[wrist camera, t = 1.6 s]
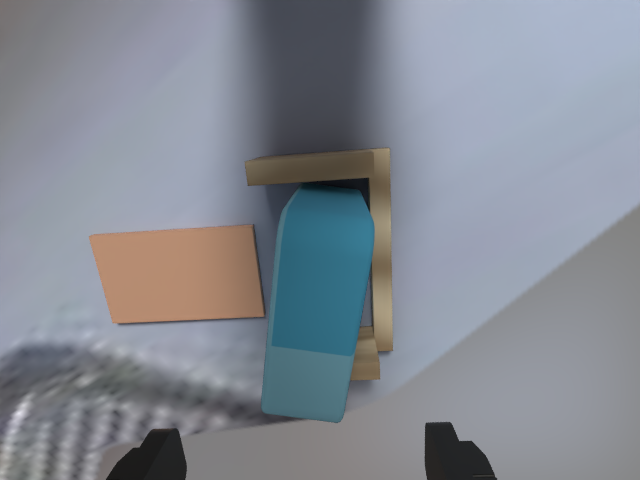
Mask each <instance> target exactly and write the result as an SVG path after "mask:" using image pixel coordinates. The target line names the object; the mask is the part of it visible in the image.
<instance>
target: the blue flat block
mask: <svg viewBox="0 0 640 480" xmlns="http://www.w3.org/2000/svg"><path fill="white" fill-rule="evenodd" d="M374 238H375V226H374V221H373V218H372V216H371V214H370V212H369V210H368V207H367V205H366V203H365V201H364V199H363V196H362V194H361V192H360V191H359V190H356V189H348V188H341V187H333V186H326V185H318V184H311V183H301V184H300V185H299V187H298V188H297V190H296V191H295V193H294V194H293V196H292V197H291V198H290V200H289V201H288V203H287V204H286V206H285V207H284V209H283V210H282V213H281V216H280V220H279V225H278V230H277V237H276V245H275V256H274V267H273V278H272V288H271V299H270V310H269V321H268V332H267V343H266V354H265V365H264V376H263V386H262V397H261V409H262V411H263V412H264V413H267V414H274V415H282V416H289V417H297V418H304V419H312V420H319V421H327V422H334V423H338V422H340V421H341V420H342V418H343V415H344V411H345V405H346V400H347V394H348V389H349V383H350V378H351V372H352V367H353V361H354V356H355V350H356V345H357V339H358V334H359V328H360V323H361V317H362V312H363V306H364V301H365V295H366V290H367V284H368V278H369V273H370V267H371V262H372V256H373V249H374Z"/></svg>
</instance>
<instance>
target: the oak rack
mask: <svg viewBox="0 0 640 480" xmlns="http://www.w3.org/2000/svg"><path fill="white" fill-rule="evenodd" d="M245 169H246V176H247V183H248V186H253V185H268V184H282V183H297V182H311V181H326V180H340V179H355V178H367V179H368V209H369V212H370V214H371V216H372V218H373V221H374V226H375V238H374V249H373V256H372V262H371V267H370V269H371V299H372V326H365V327H360V328H359V334H358V339H357V345H356V350H355V356H354V361H353V367H352V372H351V378H350V380H377V379H380V362H379V357H378V352H377V351H393V334H392V265H391V195H390V148H374V149H361V150H347V151H334V152H320V153H307V154H293V155H279V156H266V157H259V158H256V159H252V160H249V161H246V162H245Z"/></svg>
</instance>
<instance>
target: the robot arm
mask: <svg viewBox="0 0 640 480" xmlns="http://www.w3.org/2000/svg"><path fill="white" fill-rule="evenodd" d="M425 469H426V476H427V480H497V478H495V475H494V472H493V470H492V467H491V465H490V463H489V461H488V459H487V457H486V455H485V454H484V453H483V452H482V451H481V450H480V449H479V448H478V447H477V446H476V445H475V444H474V443H473V442H472V441H459V440H458V437H457V435H456V432H455V430H454V428H453V425H452V424H451V423H450V422H435V423H434V422H432V423H426V425H425ZM186 471H187V465H186V460H185V455H184V451H183V447H182V443H181V438H180V434H179V431H178V429H176V428H171V429H152V430H151V431H150V432H149V433H148V435H147V436H146V438H145V440H144V441H143V443H142V444H141V446H140V448H133V449H132V450H130V451H129V452H128V453H127V454H126V455H125V456H124V457H123V458H122V459H121V460H120V461H118V462H117V464H116V465H115V467H114V468H113V470H112V471H111V473H110V474H109V476H108V477H107V479H106V480H185V478H186Z"/></svg>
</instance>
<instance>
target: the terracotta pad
mask: <svg viewBox="0 0 640 480" xmlns="http://www.w3.org/2000/svg"><path fill="white" fill-rule="evenodd" d="M89 239H90V243H91V246H92V250H93V254H94V257H95V261H96V264H97V268H98V271H99V275H100V279H101V282H102V286H103V289H104V293H105V297H106V300H107V304H108V307H109V311H110V315H111V318H112V322H113V323H134V322H156V321H177V320H199V319H221V318H243V317H264V316H265V306H264V298H263V291H262V283H261V276H260V268H259V261H258V253H257V246H256V238H255V231H254V225H239V226H223V227H206V228H190V229H174V230H158V231H142V232H126V233H110V234H94V235H91V236H89Z"/></svg>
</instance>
